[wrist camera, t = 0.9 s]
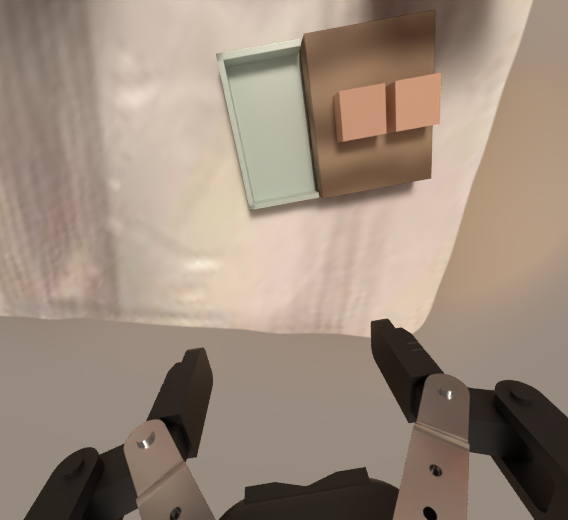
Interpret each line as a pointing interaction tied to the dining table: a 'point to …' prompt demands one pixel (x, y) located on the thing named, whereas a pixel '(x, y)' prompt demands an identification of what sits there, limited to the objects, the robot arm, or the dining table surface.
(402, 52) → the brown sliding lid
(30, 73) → the dining table surface
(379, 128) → the tile
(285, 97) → the tray
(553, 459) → the robot arm
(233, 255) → the dining table surface
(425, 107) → the tile
